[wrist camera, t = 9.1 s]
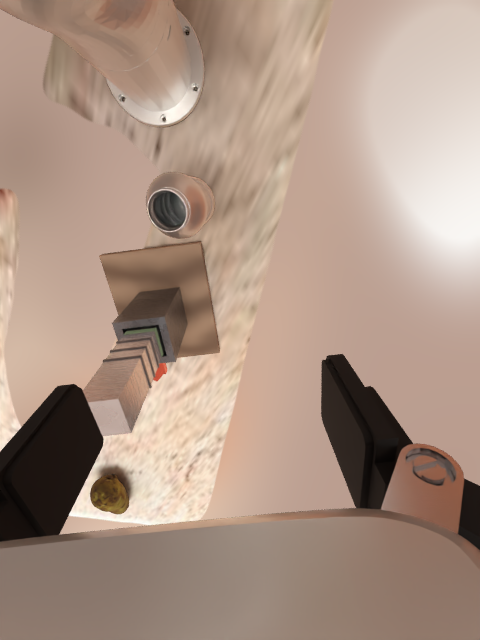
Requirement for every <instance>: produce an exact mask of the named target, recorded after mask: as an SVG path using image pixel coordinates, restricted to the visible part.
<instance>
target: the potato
mask: <svg viewBox="0 0 480 640" xmlns="http://www.w3.org/2000/svg"><path fill="white" fill-rule="evenodd" d="M90 497H91V502H92V504H93V505H94V506H95V507H97V508H98V509H100V510H102V511H106V512H108V511H109V512H111V513H114V514H122V513H124V512H125V511H126V510H127V508H128V507H129V497H128V495H127V492H126V489H125V487H124V486H123V485H122V483H120V482H119V480H118V479H117V475H113V474H112V475H106V476H103V477H101V478H100V479H98V480H97V481H96V482H95V483H94V484H93V486H92V488H91V492H90Z"/></svg>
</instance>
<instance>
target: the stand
mask: <svg viewBox="0 0 480 640" xmlns="http://www.w3.org/2000/svg"><path fill="white" fill-rule="evenodd" d="M99 257H100V260H101V263H102V266H103V269H104V272H105V275H106V278H107V281H108V284H109V287H110V290H111V293H112V296H113V299H114V303H115V306H116V308H117V312H118V315H119V316H118V317H117V318H116V319H115V320H114V322H113V323H112V324H113V327H114V330H115V333H116V336H117V339H118V341H119V340H120V339H121V338H122V336H123V335H124V333H125V332H126V331H127V329H128V328H136V327H144V326H152V325H159V328H160V332H161V336H162V339H163V343H164V347H165V351H164V354H163V356H162V359H161V361H160V364H159V366H160V367H159V368H158V369H157V371H156V373H155V375H156V377H154V378H153V380H155V381H158V380H159V379H160V378H161V376H162V375H163V374H166V372H167V367H166V363H167V362H176V359H177V358H179V357H188V356H196V355H205V354H213V353H219V352H220V347H219V342H218V336H217V330H216V324H215V319H214V313H213V307H212V301H211V296H210V290H209V284H208V278H207V272H206V267H205V261H204V255H203V249H202V244H201V242H193V243H185V244H177V245H170V246H162V247H154V248H146V249H138V250H130V251H123V252H115V253H108V254H102V255H100V256H99Z"/></svg>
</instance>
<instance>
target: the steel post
mask: <svg viewBox="0 0 480 640" xmlns="http://www.w3.org/2000/svg"><path fill="white" fill-rule="evenodd" d="M116 343H117V344H116V346H115V347H114V349H113V350H111V351H110V354H109V355H108V357H107V358H106V359H105V360H103V364H102V365H101V367H100V368H99V369H98V371H97V372H96V374H95V375H94V376H93V377H92V379H91V380H90V382H89V383H88V384H87V386H86V387H85V389H84V390H83V393H84V395H85V397H86V400H87V402H88V404H89V406H90V409H91V411H92V413H93V416H94V418H95V420H96V423H97V425H98V427H99V429H100V432H101V434H102V436H109V435H118V434H127V433H131V432H132V430H133V428H134V425H135V423H136V420H137V418H138V415H139V413H140V410H141V408H142V405H143V403H144V400H145V398H146V396H147V393H148V391H149V388H151V387H152V386H151V383H152V381H153V378H154V377H156V375H155V373H156V371H157V369H158V368H159V367H160V366H159V364H160V361H161V359H162V356H163V354H164V351H165V347H164V343H163V339H162V336H161V332H160V328H159V325H152V326H144V327H136V328H128V329H127V331H126V332H125V333H124V335H123V336H122V338H121V339H120V340H119V341H117V342H116Z"/></svg>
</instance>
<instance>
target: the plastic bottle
mask: <svg viewBox="0 0 480 640" xmlns="http://www.w3.org/2000/svg"><path fill="white" fill-rule="evenodd" d="M146 206H147V213H148V216H149V218H150V220H151V222H152V223H153V225H154V226H156V227H157V228H158V229H159V230H160V231H161V232H162V233H164V234H166V235H168V236H170V237H173V238H178V239H183V238H188V237H191V236H193V235H195V234H196V233H198V232H199V231H200V230H201V228H202V227H203V225H204V224H205V223H206V222H207V221H209V219H210V218H211V217H212V215H213V212H214V209H215V199H214V195H213V193H212V190H211V189H210V187H209V186H208V185H207V184H206V183H205V182H204V181H203V180H201V179H199V178H197V177H193V176H187V175H185V174H183V173H179V172H167V173H163V174H161V175H159V176H158V177H157V178H156V179H154V180H153V182H152V183H151V184H150V186H149V189H148V192H147V196H146Z"/></svg>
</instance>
